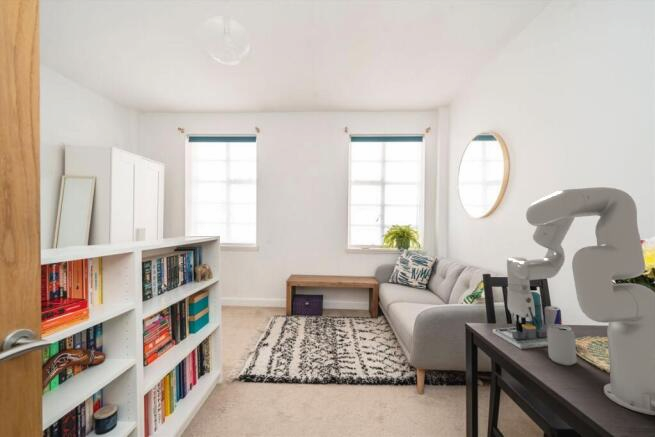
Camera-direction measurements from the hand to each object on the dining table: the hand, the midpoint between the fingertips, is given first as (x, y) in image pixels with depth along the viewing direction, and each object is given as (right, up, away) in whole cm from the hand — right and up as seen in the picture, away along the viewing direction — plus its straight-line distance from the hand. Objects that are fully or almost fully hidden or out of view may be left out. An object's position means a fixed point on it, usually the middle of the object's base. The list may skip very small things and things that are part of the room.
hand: (521, 331), depth 117 cm
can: (+1, -3, -19) cm, 19 cm away
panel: (0, -3, 0) cm, 3 cm away
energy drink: (+14, -2, 0) cm, 14 cm away
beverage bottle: (+11, -3, +8) cm, 14 cm away
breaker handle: (0, -1, -4) cm, 4 cm away
